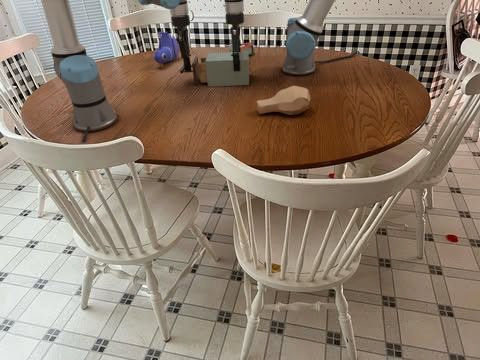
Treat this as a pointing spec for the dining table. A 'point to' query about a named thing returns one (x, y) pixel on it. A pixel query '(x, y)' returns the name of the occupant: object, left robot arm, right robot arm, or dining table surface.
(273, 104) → the squash
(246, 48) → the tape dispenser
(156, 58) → the toy
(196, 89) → the dining table surface
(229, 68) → the pale green box
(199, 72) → the drawer
